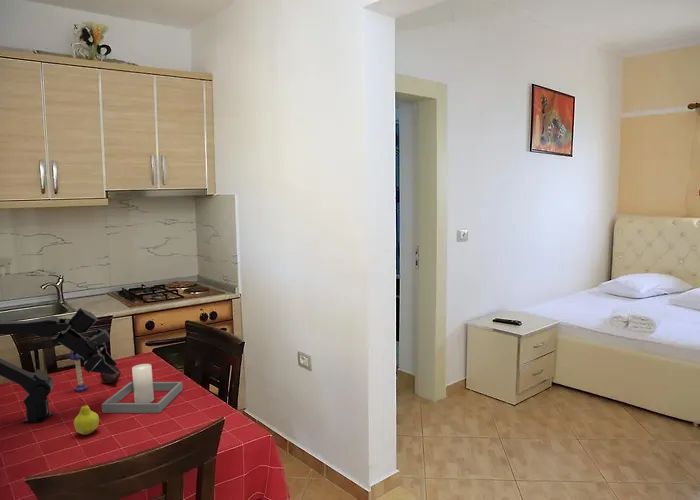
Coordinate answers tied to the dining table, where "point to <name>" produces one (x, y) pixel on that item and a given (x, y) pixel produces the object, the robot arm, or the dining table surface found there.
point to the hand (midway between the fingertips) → (115, 369)
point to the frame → (115, 407)
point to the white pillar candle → (143, 383)
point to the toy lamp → (78, 373)
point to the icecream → (109, 377)
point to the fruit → (86, 420)
